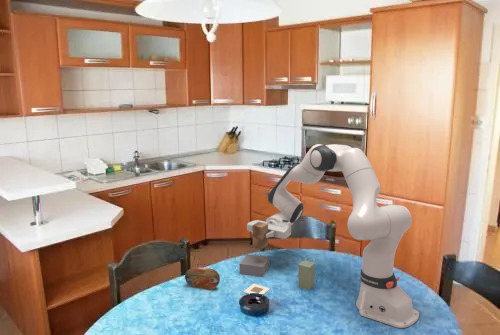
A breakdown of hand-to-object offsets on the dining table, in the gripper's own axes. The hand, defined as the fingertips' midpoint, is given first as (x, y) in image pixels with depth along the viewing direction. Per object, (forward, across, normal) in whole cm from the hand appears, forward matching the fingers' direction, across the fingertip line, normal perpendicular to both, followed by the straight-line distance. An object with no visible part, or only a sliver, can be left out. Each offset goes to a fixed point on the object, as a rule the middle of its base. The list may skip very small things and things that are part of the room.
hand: (259, 234), depth 184 cm
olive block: (+2, +24, +17) cm, 30 cm away
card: (+16, +8, +17) cm, 25 cm away
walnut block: (-1, 0, +6) cm, 6 cm away
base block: (0, -3, +18) cm, 18 cm away
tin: (+25, -13, +18) cm, 33 cm away
